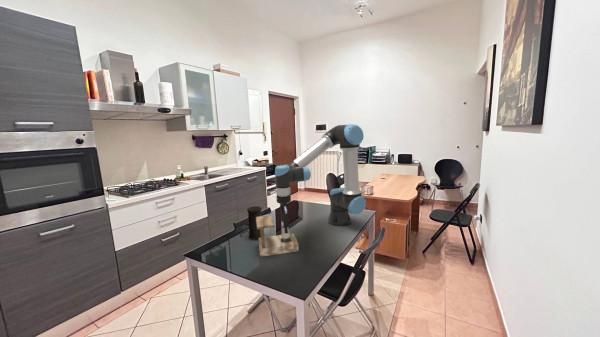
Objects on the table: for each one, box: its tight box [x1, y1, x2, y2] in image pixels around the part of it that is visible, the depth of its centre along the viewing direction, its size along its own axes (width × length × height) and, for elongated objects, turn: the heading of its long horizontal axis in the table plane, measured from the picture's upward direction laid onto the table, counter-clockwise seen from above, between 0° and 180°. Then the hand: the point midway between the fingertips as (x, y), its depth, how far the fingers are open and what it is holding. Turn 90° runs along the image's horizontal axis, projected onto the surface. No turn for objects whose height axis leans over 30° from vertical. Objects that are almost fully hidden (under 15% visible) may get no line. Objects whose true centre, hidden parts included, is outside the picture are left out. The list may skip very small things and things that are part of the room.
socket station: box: [256, 215, 300, 258], centre depth 132 cm, size 20×15×16 cm
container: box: [247, 205, 263, 241], centre depth 147 cm, size 9×9×18 cm
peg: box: [280, 221, 290, 243], centre depth 133 cm, size 4×4×12 cm
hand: (285, 236), depth 133 cm, fingers closed on peg, 4 cm apart
